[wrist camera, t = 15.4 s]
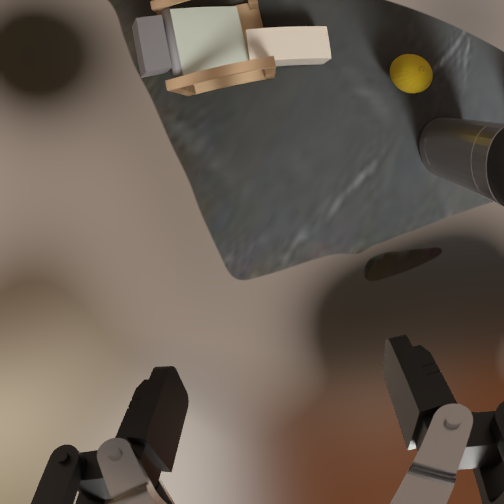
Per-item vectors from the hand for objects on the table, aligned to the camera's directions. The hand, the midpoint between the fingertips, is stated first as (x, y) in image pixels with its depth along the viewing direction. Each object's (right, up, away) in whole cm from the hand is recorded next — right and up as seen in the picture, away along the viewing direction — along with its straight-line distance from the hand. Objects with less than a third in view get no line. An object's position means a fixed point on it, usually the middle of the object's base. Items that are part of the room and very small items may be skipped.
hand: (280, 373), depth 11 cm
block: (-2, +30, +23) cm, 38 cm away
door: (-9, +29, +21) cm, 37 cm away
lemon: (+20, +29, +26) cm, 44 cm away
